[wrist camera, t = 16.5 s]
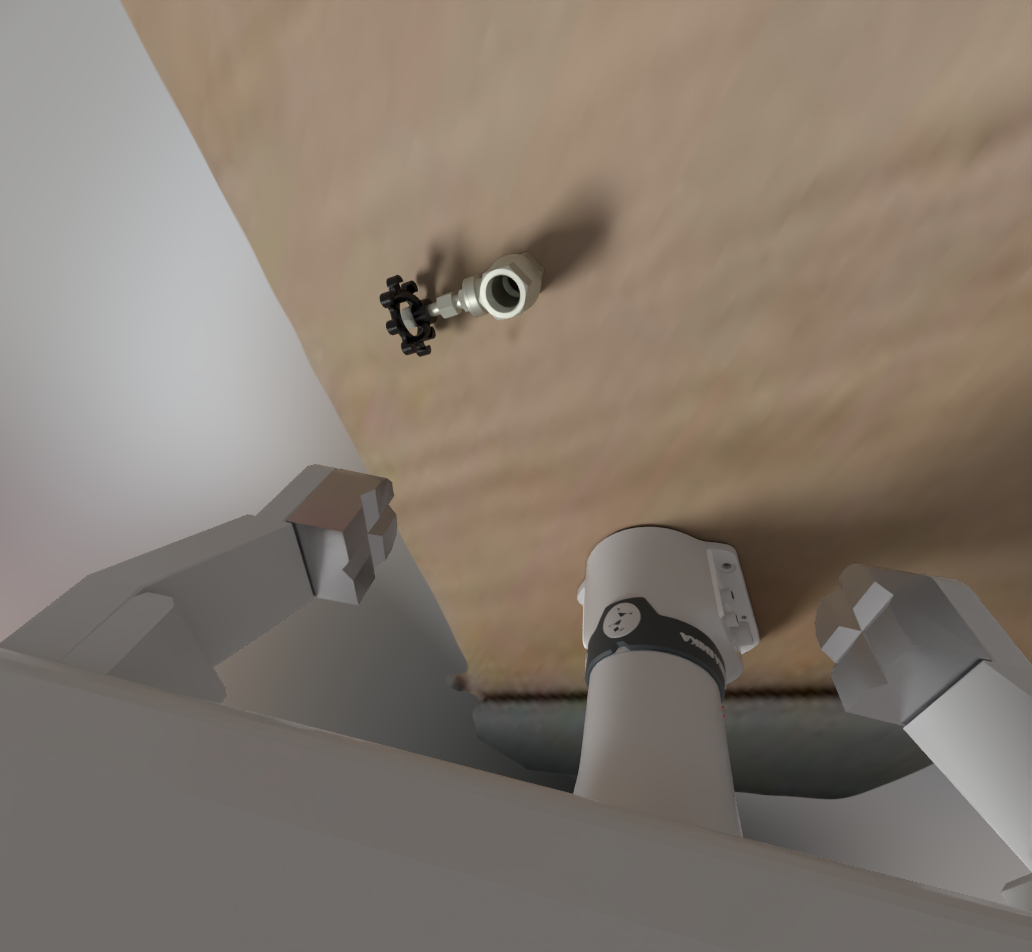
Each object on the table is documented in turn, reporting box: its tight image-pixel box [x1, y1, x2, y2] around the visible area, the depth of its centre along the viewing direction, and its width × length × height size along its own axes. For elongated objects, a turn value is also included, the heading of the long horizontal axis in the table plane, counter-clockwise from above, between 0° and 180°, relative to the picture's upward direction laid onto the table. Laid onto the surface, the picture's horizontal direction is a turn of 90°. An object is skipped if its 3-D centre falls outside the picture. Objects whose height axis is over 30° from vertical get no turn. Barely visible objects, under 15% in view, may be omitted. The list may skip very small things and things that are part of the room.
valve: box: [380, 252, 544, 357], centre depth 36 cm, size 7×7×12 cm
